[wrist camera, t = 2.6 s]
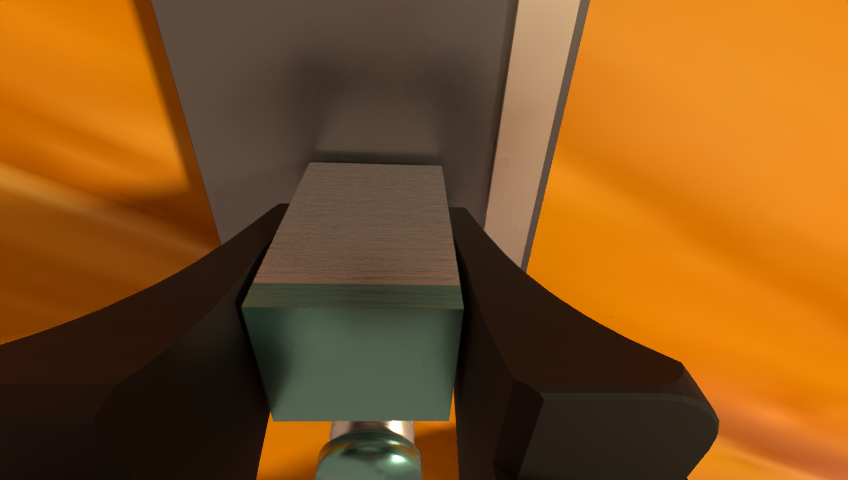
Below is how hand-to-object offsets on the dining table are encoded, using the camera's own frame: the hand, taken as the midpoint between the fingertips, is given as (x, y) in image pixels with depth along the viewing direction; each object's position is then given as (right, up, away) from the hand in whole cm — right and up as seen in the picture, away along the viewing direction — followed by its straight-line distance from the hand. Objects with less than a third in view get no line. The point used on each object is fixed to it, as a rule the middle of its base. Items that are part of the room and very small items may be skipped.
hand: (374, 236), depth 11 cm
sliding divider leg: (0, +1, +1) cm, 1 cm away
